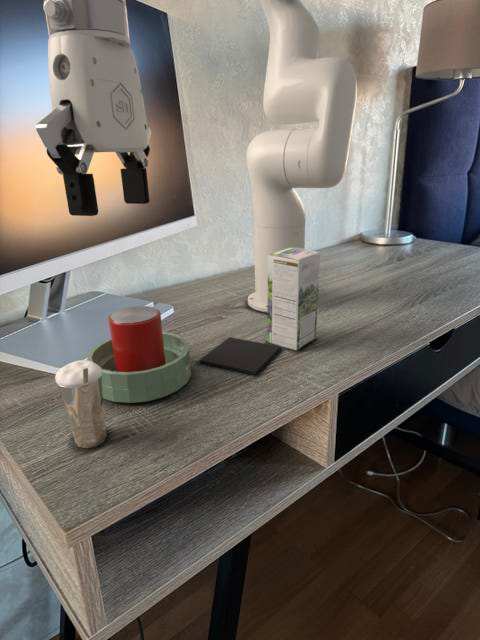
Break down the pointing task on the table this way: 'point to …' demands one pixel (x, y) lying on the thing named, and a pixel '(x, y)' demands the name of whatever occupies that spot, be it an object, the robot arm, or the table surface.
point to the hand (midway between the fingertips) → (112, 208)
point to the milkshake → (83, 401)
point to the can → (137, 339)
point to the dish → (144, 372)
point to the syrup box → (292, 297)
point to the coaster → (241, 355)
